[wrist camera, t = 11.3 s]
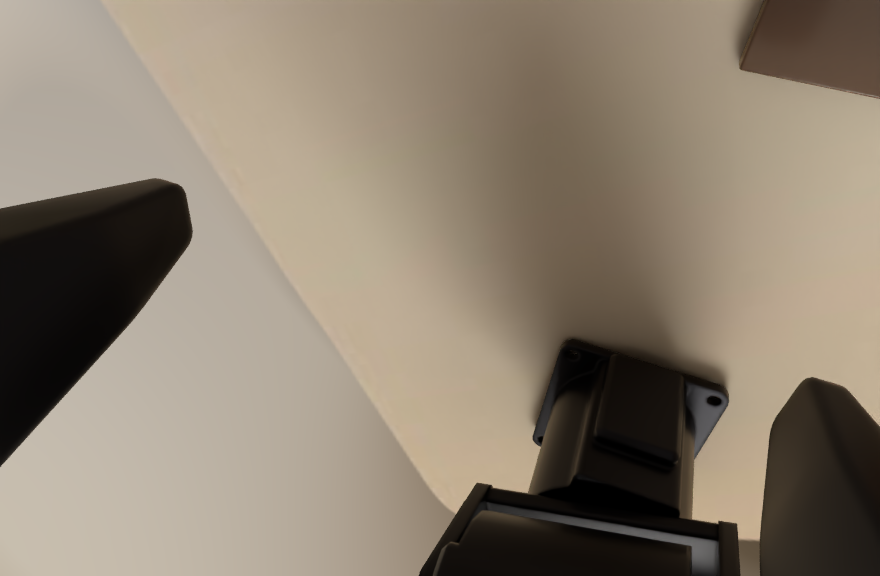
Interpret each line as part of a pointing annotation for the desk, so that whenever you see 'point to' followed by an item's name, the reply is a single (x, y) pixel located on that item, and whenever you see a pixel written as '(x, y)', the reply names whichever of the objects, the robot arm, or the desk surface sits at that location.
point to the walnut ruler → (818, 44)
